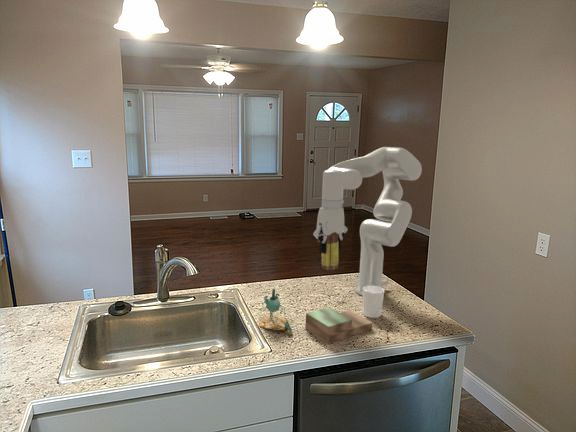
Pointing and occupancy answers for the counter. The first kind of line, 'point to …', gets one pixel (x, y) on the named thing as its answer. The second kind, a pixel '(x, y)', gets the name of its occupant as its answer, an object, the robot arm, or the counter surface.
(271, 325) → the teal toy figure
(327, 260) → the sauce bottle
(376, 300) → the white cup
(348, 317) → the stand
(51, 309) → the counter surface
